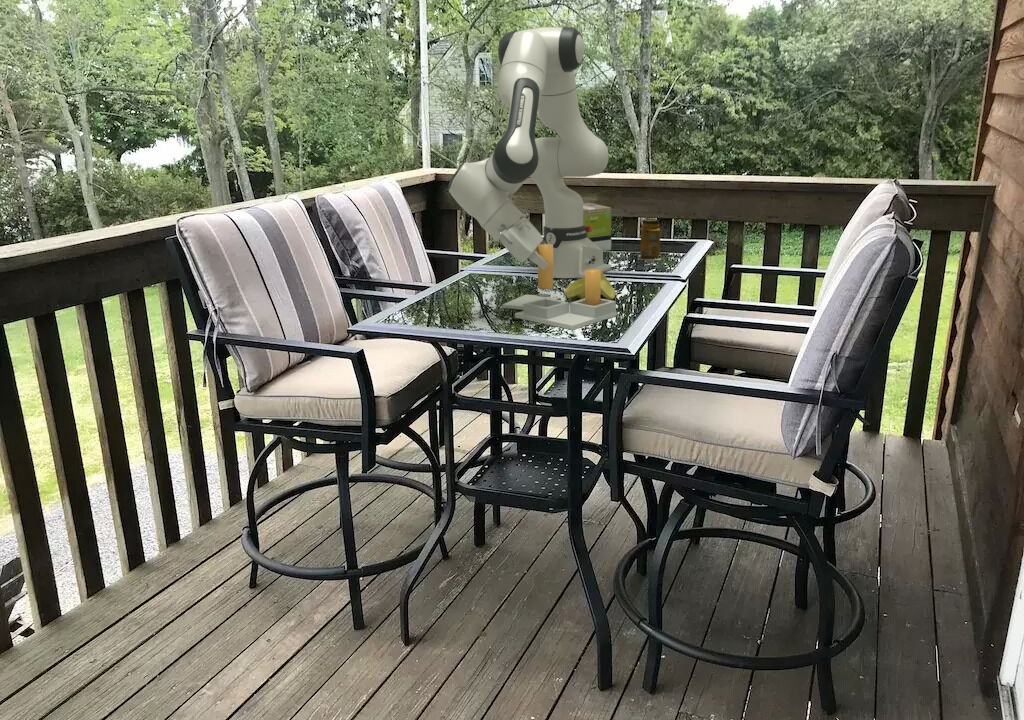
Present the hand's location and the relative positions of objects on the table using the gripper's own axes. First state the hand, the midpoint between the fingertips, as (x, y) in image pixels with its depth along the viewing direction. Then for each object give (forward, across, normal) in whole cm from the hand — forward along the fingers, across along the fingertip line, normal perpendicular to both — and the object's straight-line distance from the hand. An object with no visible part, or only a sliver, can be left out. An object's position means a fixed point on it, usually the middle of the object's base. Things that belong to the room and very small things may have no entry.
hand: (547, 265), depth 189 cm
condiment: (+25, +76, -7) cm, 80 cm away
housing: (+12, +1, +6) cm, 13 cm away
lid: (+4, +13, +13) cm, 19 cm away
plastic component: (+15, +18, +4) cm, 24 cm away
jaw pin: (+3, 0, +4) cm, 5 cm away
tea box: (+10, +94, +8) cm, 94 cm away
